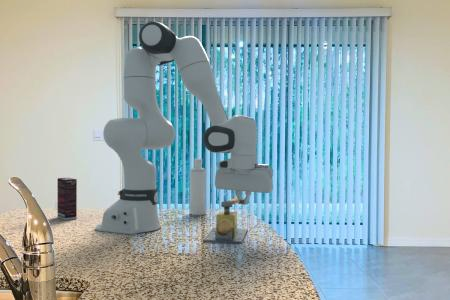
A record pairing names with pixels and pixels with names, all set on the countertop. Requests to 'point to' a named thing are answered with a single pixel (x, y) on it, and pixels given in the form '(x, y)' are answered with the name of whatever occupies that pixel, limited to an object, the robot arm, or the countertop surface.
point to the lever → (229, 203)
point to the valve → (226, 229)
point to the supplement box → (67, 198)
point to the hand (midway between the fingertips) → (243, 204)
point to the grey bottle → (198, 189)
